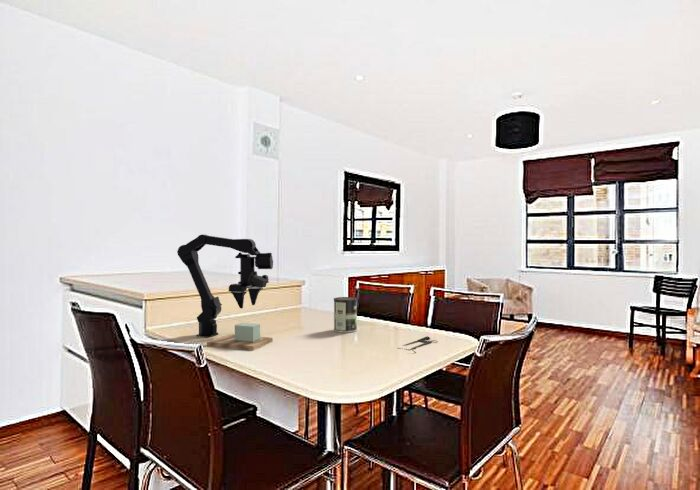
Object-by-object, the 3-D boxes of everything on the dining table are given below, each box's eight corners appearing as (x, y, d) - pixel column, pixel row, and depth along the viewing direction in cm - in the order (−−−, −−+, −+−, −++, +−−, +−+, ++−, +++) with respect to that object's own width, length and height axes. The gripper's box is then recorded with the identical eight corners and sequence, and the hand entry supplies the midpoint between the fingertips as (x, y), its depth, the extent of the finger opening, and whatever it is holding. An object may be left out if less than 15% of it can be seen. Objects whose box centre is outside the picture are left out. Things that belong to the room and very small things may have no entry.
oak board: (206, 345, 161) (206, 341, 161) (228, 337, 174) (228, 334, 174) (253, 350, 154) (253, 346, 154) (272, 341, 168) (272, 337, 167)
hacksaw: (426, 339, 174) (426, 335, 174) (448, 343, 167) (449, 339, 167) (388, 350, 157) (388, 346, 157) (411, 355, 149) (411, 351, 149)
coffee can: (357, 327, 194) (357, 296, 193) (356, 332, 183) (356, 300, 183) (334, 327, 194) (334, 296, 194) (332, 332, 184) (332, 299, 183)
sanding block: (234, 341, 162) (234, 325, 162) (242, 338, 167) (242, 322, 167) (253, 342, 159) (253, 326, 159) (260, 339, 164) (260, 324, 164)
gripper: (252, 271, 166) (252, 311, 166) (275, 268, 184) (275, 304, 184) (227, 270, 170) (227, 309, 170) (252, 267, 187) (253, 303, 188)
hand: (247, 306), depth 178 cm, fingers open, 9 cm apart
